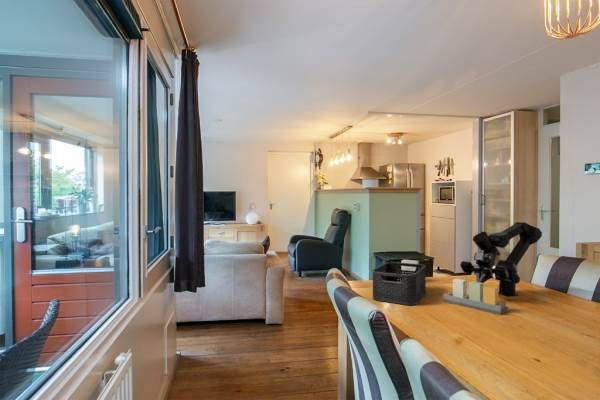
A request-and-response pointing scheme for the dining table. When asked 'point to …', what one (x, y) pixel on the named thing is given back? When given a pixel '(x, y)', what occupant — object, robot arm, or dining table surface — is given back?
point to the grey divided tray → (475, 304)
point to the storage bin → (399, 283)
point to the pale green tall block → (475, 291)
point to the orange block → (490, 295)
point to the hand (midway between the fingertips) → (478, 285)
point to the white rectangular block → (459, 288)
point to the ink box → (407, 266)
